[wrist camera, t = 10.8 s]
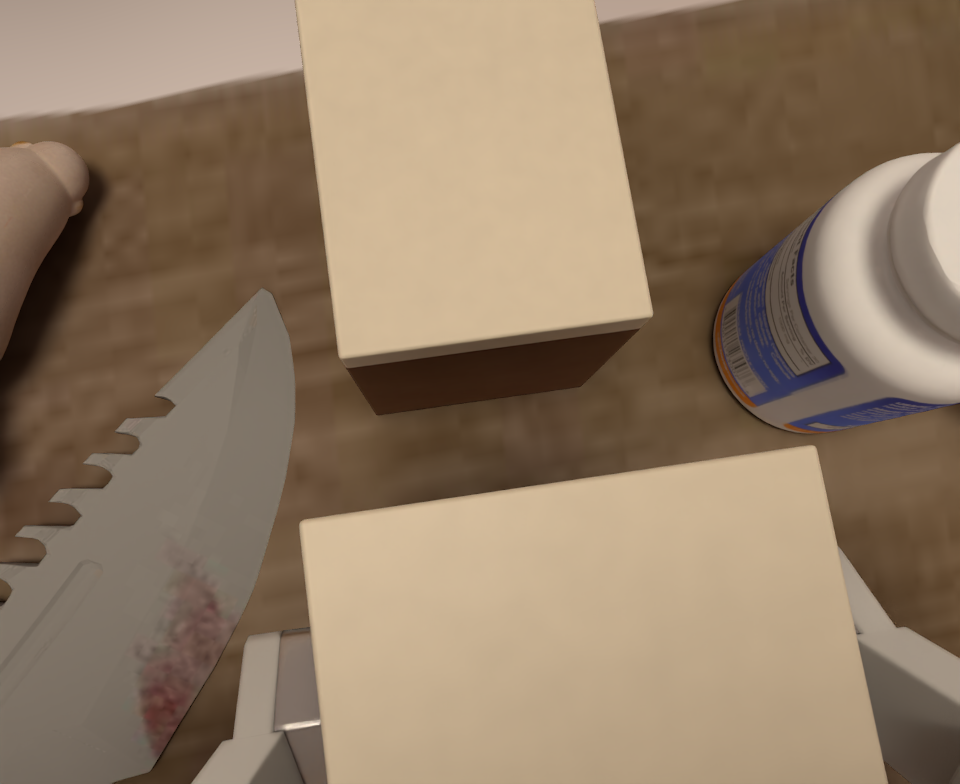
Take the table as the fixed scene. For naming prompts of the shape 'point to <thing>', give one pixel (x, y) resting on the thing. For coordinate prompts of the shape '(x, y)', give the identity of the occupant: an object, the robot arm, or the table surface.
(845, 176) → the table surface
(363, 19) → the brown and cream box
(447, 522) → the cake slice
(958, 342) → the pill bottle
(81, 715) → the knife
